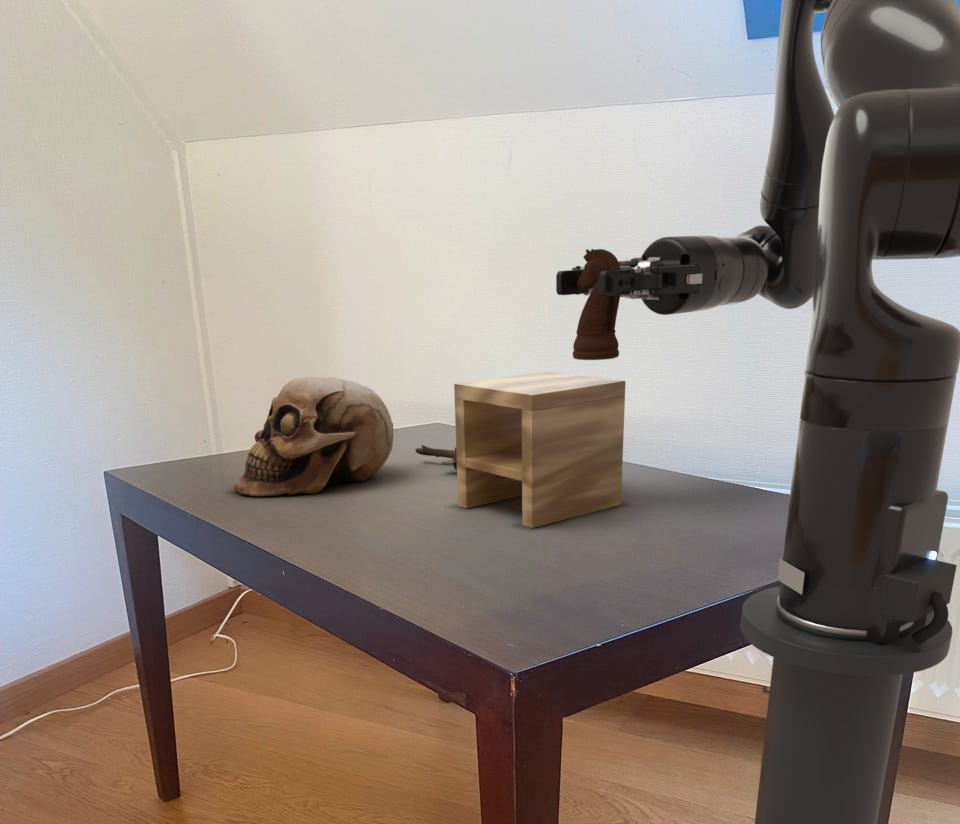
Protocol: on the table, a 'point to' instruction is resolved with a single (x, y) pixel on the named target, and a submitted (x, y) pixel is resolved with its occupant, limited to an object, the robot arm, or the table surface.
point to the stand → (541, 443)
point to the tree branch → (439, 454)
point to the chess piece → (597, 311)
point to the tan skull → (318, 438)
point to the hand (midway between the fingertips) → (580, 283)
